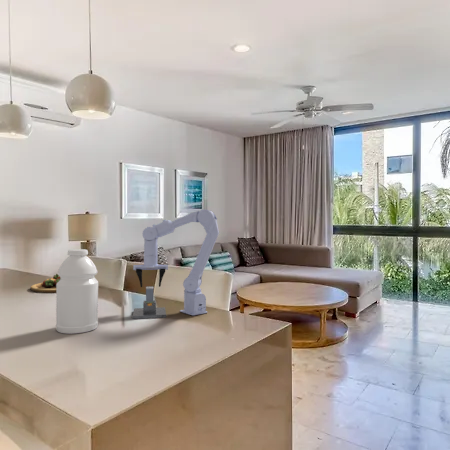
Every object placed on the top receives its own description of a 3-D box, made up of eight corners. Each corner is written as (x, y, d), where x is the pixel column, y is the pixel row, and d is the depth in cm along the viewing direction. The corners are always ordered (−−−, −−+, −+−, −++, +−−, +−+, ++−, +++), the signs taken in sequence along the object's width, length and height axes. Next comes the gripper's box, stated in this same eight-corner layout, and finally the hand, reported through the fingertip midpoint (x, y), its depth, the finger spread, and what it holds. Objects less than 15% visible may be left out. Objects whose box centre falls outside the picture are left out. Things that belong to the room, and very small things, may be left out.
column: (153, 302, 153) (153, 286, 153) (153, 304, 150) (153, 287, 150) (145, 302, 153) (146, 286, 153) (145, 304, 150) (145, 287, 150)
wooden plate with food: (36, 285, 222) (36, 271, 222) (92, 283, 232) (92, 270, 232) (24, 295, 192) (24, 279, 192) (89, 292, 201) (89, 277, 201)
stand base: (165, 310, 159) (165, 298, 159) (166, 317, 147) (166, 304, 146) (134, 311, 157) (134, 299, 157) (132, 319, 144) (132, 305, 144)
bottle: (57, 325, 135) (58, 248, 135) (97, 321, 139) (98, 248, 139) (54, 336, 121) (55, 251, 121) (98, 332, 126) (99, 250, 126)
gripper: (133, 255, 153) (132, 288, 153) (168, 255, 156) (168, 287, 156) (133, 254, 160) (133, 285, 160) (167, 254, 162) (167, 284, 162)
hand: (150, 286), depth 158 cm, fingers open, 7 cm apart
